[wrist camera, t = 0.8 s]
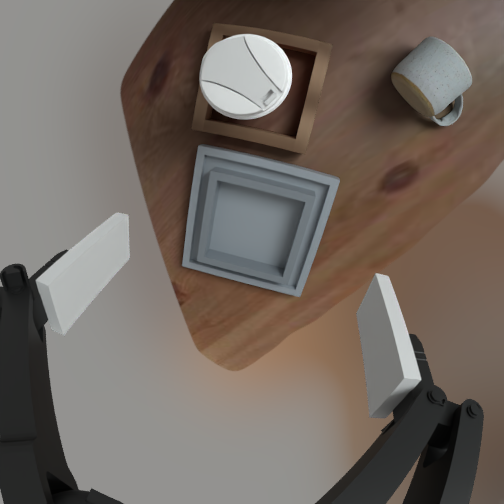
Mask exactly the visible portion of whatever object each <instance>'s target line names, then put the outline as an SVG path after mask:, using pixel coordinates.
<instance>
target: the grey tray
mask: <svg viewBox="0 0 504 504" xmlns="http://www.w3.org/2000/svg"><path fill="white" fill-rule="evenodd" d="M339 182H340V179H339V178H338V177H336V176H332V175H329V174H326V173H322V172H319V171H315V170H312V169H308V168H304V167H301V166H297V165H293V164H289V163H285V162H282V161H278V160H274V159H270V158H265V157H261V156H257V155H253V154H248V153H244V152H239V151H235V150H230V149H225V148H220V147H215V146H210V145H205V144H201V145H199V146H198V151H197V157H196V163H195V169H194V176H193V183H192V190H191V197H190V204H189V212H188V219H187V227H186V236H185V245H184V254H183V263H182V266H184V267H188V268H191V269H195V270H198V271H202V272H206V273H209V274H213V275H217V276H220V277H224V278H228V279H232V280H235V281H239V282H243V283H247V284H251V285H254V286H258V287H262V288H266V289H270V290H274V291H278V292H282V293H286V294H290V295H294V296H298V297H300V296H301V293H302V290H303V288H304V285H305V282H306V279H307V277H308V274H309V271H310V268H311V266H312V263H313V260H314V257H315V254H316V252H317V249H318V246H319V243H320V240H321V237H322V234H323V231H324V228H325V225H326V222H327V219H328V216H329V213H330V210H331V207H332V204H333V201H334V198H335V195H336V191H337V188H338V185H339Z"/></svg>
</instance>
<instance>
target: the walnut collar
mask: <svg viewBox="0 0 504 504" xmlns="http://www.w3.org/2000/svg"><path fill="white" fill-rule="evenodd" d="M240 34H253V35H259V36H262V37H265V38H267V39H269V40H271V41H273V42H274V43H276V44H277V45H278V46H279V47H280V48H285V49H290V50H294V51H299V52H303V53H307V54H311V55H315V56H316V58H315V62H314V66H313V70H312V75H311V79H310V83H309V87H308V91H307V95H306V99H305V103H304V107H303V111H302V115H301V119H300V123H299V127H298V131H297V135H296V137H293V136H289V135H285V134H281V133H277V132H273V131H268V130H264V129H259V128H255V127H250V126H246V125H241V124H236V123H231V122H225V121H220V120H214V119H211V114H212V109H213V107H212V106H211V105H210V104H209V103H208V102H207V100H206V99H205V97H204V95H203V93H202V90H201V87H200V85H199V90H198V95H197V100H196V105H195V110H194V116H193V121H192V127H191V130H196V131H202V132H207V133H213V134H218V135H223V136H228V137H233V138H238V139H243V140H247V141H252V142H256V143H261V144H265V145H269V146H273V147H277V148H281V149H285V150H289V151H293V152H297V153H301V154H304V155H305V154H306V150H307V146H308V142H309V138H310V134H311V131H312V127H313V123H314V119H315V115H316V111H317V107H318V103H319V99H320V95H321V91H322V87H323V83H324V79H325V75H326V71H327V67H328V63H329V59H330V54H331V50H332V46H333V45H332V44H329V43H325V42H321V41H317V40H314V39H310V38H305V37H301V36H297V35H292V34H287V33H282V32H277V31H271V30H266V29H259V28H253V27H246V26H238V25H229V24H218V23H213V27H212V31H211V35H210V39H209V44H208V48H207V51H208V50H209V49H210V48H211V47H212V46H213V45H214V44H215V43H217V42H219V41H222V40H224V39H226V38H228V37H231V36H235V35H240Z"/></svg>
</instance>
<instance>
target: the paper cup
mask: <svg viewBox="0 0 504 504" xmlns="http://www.w3.org/2000/svg"><path fill="white" fill-rule="evenodd" d="M199 80H200V87H201V90H202V93H203V95H204V97H205V99H206V100H207V102H208V103H209V104H210V105H211V106H212V107H213V108H214V109H215V110H216V111H218V112H219V113H221V114H223V115H225V116H228V117H231V118H235V119H245V120H247V119H255V118H259V117H262V116H264V115H267V114H268V113H270V112H272V111H273V110H275V109H276V108H277V107H278V106H279V105H280V104H281V103H282V102H283V101H284V99H285V98H286V96H287V94H288V92H289V90H290V87H291V82H292V70H291V65H290V62H289V60H288V58H287V56H286V54H285V53H284V51H283V50H282V49H281V48H280V47H279V46H278V45H277V44H276V43H274V42H273V41H271V40H269V39H267V38H265V37H262V36H259V35H253V34H240V35H235V36H231V37H228V38H226V39H224V40H222V41H219V42H217V43H215V44H214V45H213V46H212V47H211V48H210V49H209V50H208V51H207V52H206V54H205V55H204V57H203V59H202V64H201V69H200V77H199Z"/></svg>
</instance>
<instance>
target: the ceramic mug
mask: <svg viewBox="0 0 504 504" xmlns="http://www.w3.org/2000/svg"><path fill="white" fill-rule="evenodd" d="M391 80H392V83H393V85H394V87H395V88H396V90H397V91H398V92H399V93H400V95H401V96H402V97H403V98H404V99H405V100H406V101H407V102H408V103H409V104H410V105H411V106H412V107H413V108H414V109H415V110H416V111H418V112H419V113H420V114H422V115H424V116H426V117H429V118H430V119H431V120H433V121H434V122H435V123H437V124H439V125H441V126H448V125H450V124H452V123H454V122H455V121H456V120H457V119H458V118H459V116H460V114H461V112H462V109H463V97H462V93H463V92H464V91H465V90H467V89H468V88H469V87H470V86H471V84H472V76H471V73H470V71H469V68H468V67H467V65H466V63H465V62H464V60H463V59H462V58H461V56H460V55H459V54H458V53H457V52H456V51H455V50H454V49H453V48H452V47H451V46H450V45H448V44H447V43H445V42H444V41H442V40H440V39H438V38H435V37H428V38H425V39H424V40H423V41H422V42H421V43H420V44H419V45H418V46H417V47H416V48H415V49H414V50H413V51H412V52H410V54H409V55H408V56H407V57H405V58H404V59H403V60H402V61H401V62H400V63H399V64H398V65H397V66H396V67H395V69H394V70H393V72H392V74H391ZM453 100H455V104H454V108H453V109H452V111H451V112H450V113H449V114H448V115H446V116H445V117H443V118H442V119H440V120H438V119H436V118H435V116H434V115H436V114H438V113H440V112H441V111H442V110H444V109H445V108H446V107H447V106H448V105H449V104H450V103H451V102H452V101H453Z"/></svg>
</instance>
